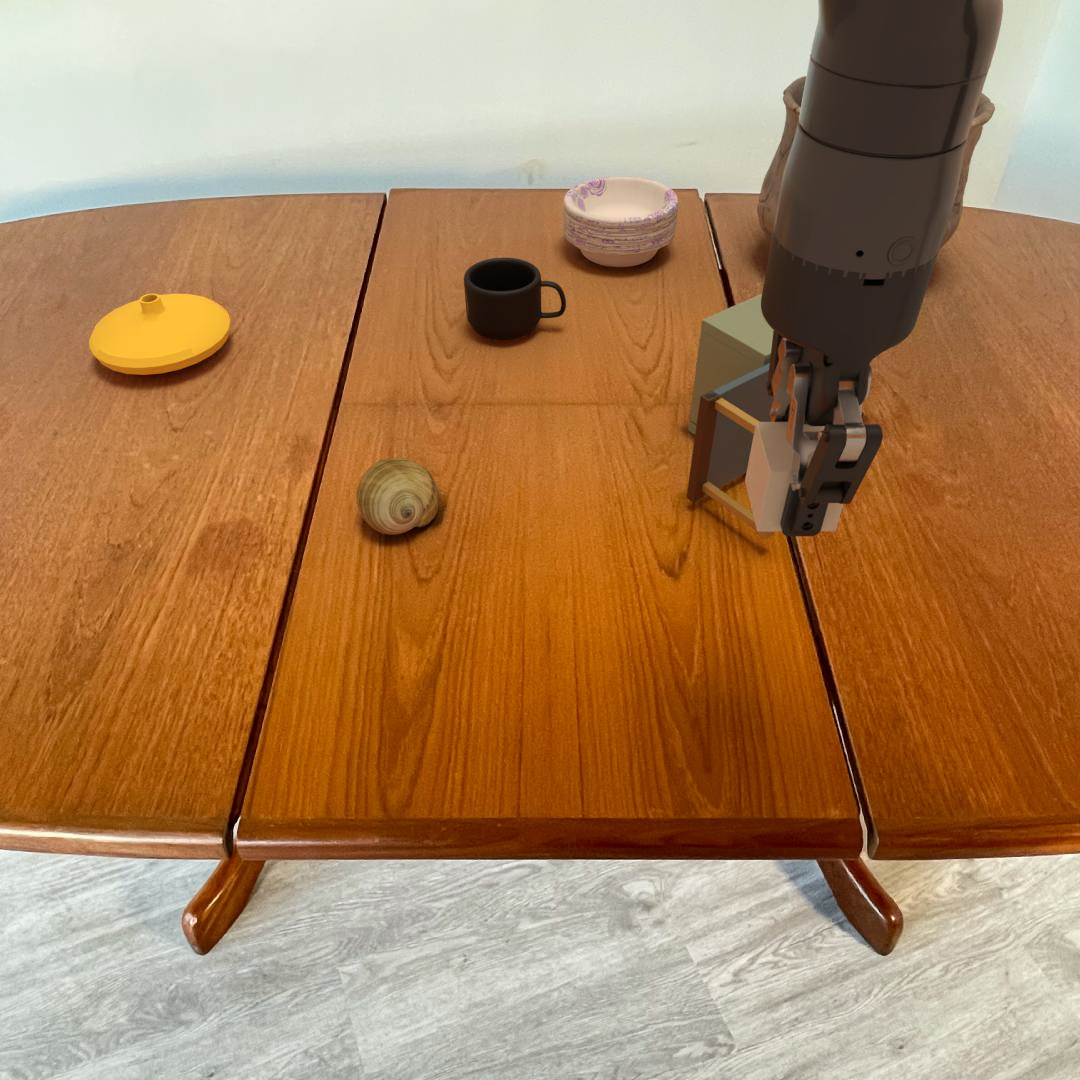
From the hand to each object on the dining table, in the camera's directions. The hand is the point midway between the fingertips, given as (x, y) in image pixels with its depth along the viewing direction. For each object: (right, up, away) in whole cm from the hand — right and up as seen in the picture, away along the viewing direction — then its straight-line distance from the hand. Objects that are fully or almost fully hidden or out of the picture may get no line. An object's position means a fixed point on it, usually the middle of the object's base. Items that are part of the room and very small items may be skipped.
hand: (790, 501), depth 53 cm
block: (0, 0, 0) cm, 0 cm away
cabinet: (+9, +10, +40) cm, 43 cm away
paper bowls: (-4, +37, +69) cm, 78 cm away
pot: (+26, +34, +65) cm, 78 cm away
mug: (-18, +23, +54) cm, 62 cm away
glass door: (+7, +2, +30) cm, 32 cm away
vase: (-59, +20, +51) cm, 81 cm away
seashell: (-29, 0, +31) cm, 42 cm away
